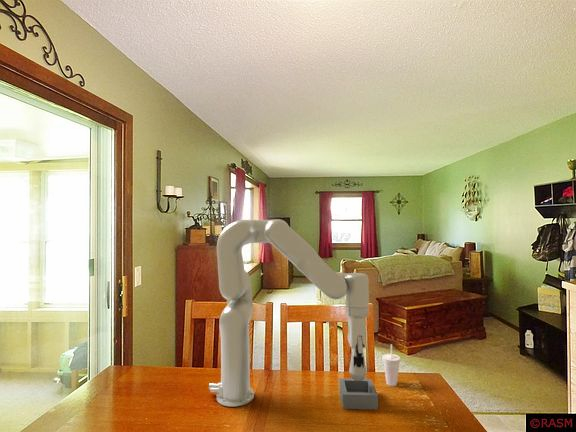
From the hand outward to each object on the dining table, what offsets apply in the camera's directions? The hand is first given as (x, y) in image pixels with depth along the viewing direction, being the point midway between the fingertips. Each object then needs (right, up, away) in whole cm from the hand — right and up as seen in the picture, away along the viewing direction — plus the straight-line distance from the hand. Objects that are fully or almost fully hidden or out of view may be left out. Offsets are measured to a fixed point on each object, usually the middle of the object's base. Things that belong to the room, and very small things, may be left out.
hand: (357, 365), depth 115 cm
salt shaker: (0, -4, 0) cm, 4 cm away
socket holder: (0, -11, 0) cm, 11 cm away
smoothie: (+15, -12, +11) cm, 22 cm away
